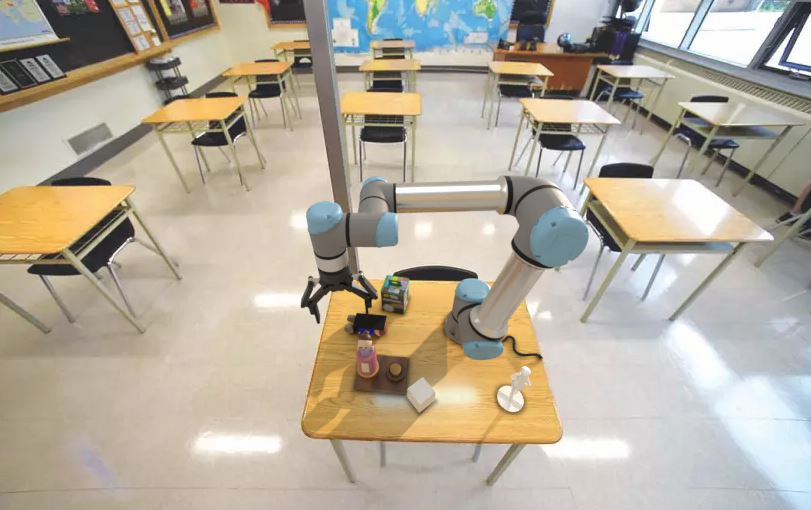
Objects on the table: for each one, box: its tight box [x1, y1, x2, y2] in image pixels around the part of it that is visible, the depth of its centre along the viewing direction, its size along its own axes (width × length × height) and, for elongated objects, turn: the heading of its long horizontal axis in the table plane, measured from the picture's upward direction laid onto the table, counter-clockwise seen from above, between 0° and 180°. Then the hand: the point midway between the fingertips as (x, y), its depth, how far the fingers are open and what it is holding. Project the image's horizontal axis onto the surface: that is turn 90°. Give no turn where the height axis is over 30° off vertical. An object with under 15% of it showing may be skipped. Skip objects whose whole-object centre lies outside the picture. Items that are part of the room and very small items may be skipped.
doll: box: [355, 331, 379, 378], centre depth 96 cm, size 7×7×17 cm
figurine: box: [496, 366, 532, 413], centre depth 93 cm, size 8×8×18 cm
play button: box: [390, 363, 401, 377], centre depth 101 cm, size 4×4×2 cm
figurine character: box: [343, 312, 388, 337], centre depth 114 cm, size 7×8×15 cm
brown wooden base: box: [353, 354, 409, 396], centre depth 103 cm, size 16×12×4 cm
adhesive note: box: [406, 376, 436, 413], centre depth 97 cm, size 6×6×6 cm
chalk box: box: [380, 274, 410, 315], centre depth 122 cm, size 9×9×15 cm
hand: (343, 316), depth 90 cm, fingers open, 13 cm apart
